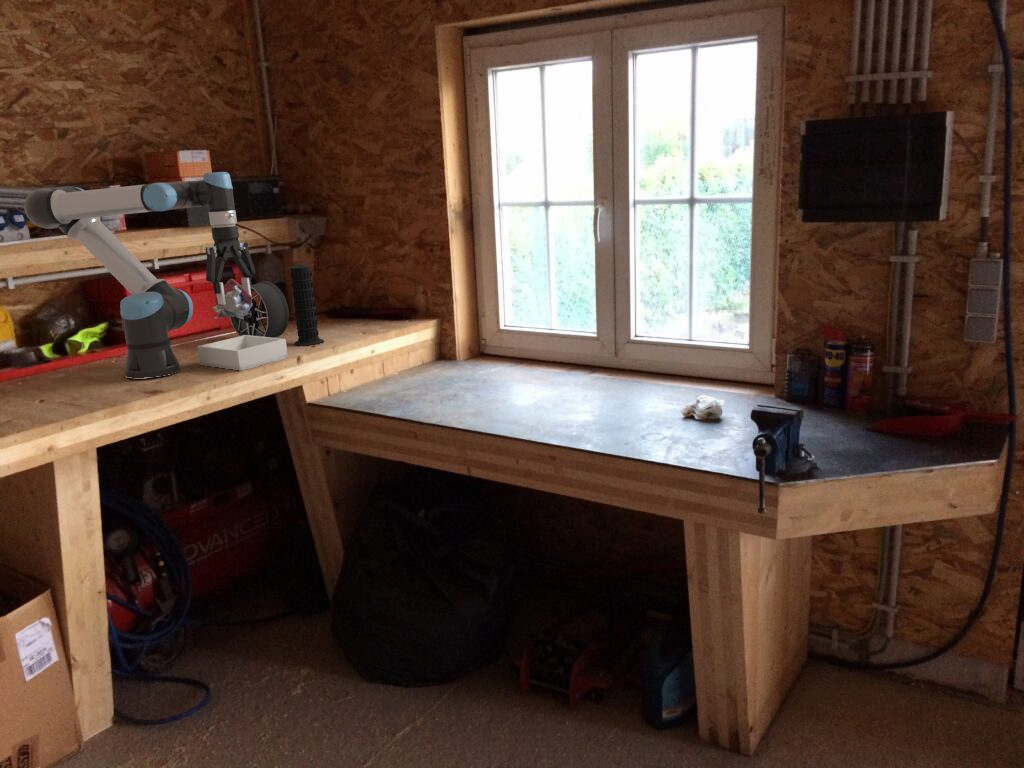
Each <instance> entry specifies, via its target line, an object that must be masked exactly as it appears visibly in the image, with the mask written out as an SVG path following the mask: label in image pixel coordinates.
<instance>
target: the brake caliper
mask: <svg viewBox="0 0 1024 768" xmlns="http://www.w3.org/2000/svg"><path fill="white" fill-rule="evenodd" d="M240 285H241V284H239V282H237V281H236V280H235V279H233V278H230V279H228V280H227V282H226V283H225V284H224V285H223V287H224V294H225V301H226V304H225V305H221V304H218V300H217V295H216V296H215V297H214V300H215V303H216V304H215V306H214V307H212V311H213V312H214V313H216V314H218V315H217V316H214V320H217V319H220V318H230V317H236V316H246V315H247V314H248V311H249V310H250V308H251V307H252V306H253V304H252V297H253V296H252V297H251V295H250V294H249V293H248V292H247V291H246V290H244V288H243V287H241V286H240ZM228 288H229V289H228ZM240 295H243V298H242V299H243V301H241V298H240Z"/></svg>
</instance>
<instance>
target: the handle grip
mask: <svg viewBox="0 0 1024 768" xmlns="http://www.w3.org/2000/svg"><path fill="white" fill-rule="evenodd" d="M289 269H290V278H291V288H292V298H293V301H294V302H293V306H294V311H295V312H294V315H295V320H296V323H295V325H296V327H297V328H296V330H297V337H298V338H297V341H294V343H293V345H294V346H295V345H296V346H295V347H311V346H310V345H313V346H317V345H316V344H318V345H321V344H320V343H322V342H324V343H325V340H324V339H322V338H320V336H319V329H318V328H319V326H318V320H317V318H318V316H317V311H316V308H317V307H316V301H315V299H316V298H315V291H314V282H313V273H312V270H311V269H312V266H311V265H310V264H309V265H308V264H303V263H299V264H296V265H293V266H290V267H289ZM322 344H323V343H322Z"/></svg>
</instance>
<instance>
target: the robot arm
mask: <svg viewBox="0 0 1024 768" xmlns="http://www.w3.org/2000/svg"><path fill="white" fill-rule="evenodd" d="M202 178H203V179H201V180H183V181H171V182H168V181H167V182H153V183H148V184H137V185H129V186H128V185H126V186H119V187H108V188H100V189H99V188H98V189H88V190H85V189H83V188H80V187H78V186H76V187H75V186H70V185H69V186H68V185H65V186H64V185H63V186H59V187H43V188H40V187H39V188H37V189H34V190H33V191H31V192H30V193H29V194H28V195H27V196H26V198H25V201H24V204H23V205H24V206H23V208H24V212H25V215H26V217H27V218H28V220H29V221H30V222H32V224H34V225H35V226H37V227H40V228H42V229H52V230H53V229H59V230H60V231H62V233H63V234H64V235H65V236H66V237H67V238H68V239H70V240H77V241H78V242H79V243H80V244H81V245H82V246H83V247H84V248H85V249H86V250H87V251H88V252H89V253H90V254H91V255H92V256H94V258H95V259H96V260H97V261H98V262H99V263H100V264H101V265H102V266H103V267H104V268H105V269H106V270H107V271H108V272H109V273H110V274H111V275H112V276H113V278H115V279H116V280H117V281H118V282H119V283H120V284H121V285H122V286H123V288H125V289H126V291H128V292H129V293H130V294H131V295H130V294H129V295H127V296H126V297H124V298H122V299H121V301H120V304H119V305H120V306H119V307H120V311H119V312H120V314H119V315H120V316H121V322H122V327H123V333H124V338H125V343H126V345H125V346H126V350H127V352H126V357H125V358H126V359H125V364H124V369H123V371H124V376H127V377H132V378H144V377H156V376H163V375H168V374H172V373H175V372H177V371H179V370H180V371H181V366H180V363H179V360H178V357H176V354H175V352H174V351H173V349H172V347H171V344H170V337H169V332H171V331H173V330H178V329H180V328H181V327H183V326H185V325H187V324H188V323H189V321H191V319H192V316H193V313H194V305H193V304H194V303H193V301H192V299H191V297H190V295H189V294H188V293H187V292H185V290H184V291H183V290H182V289H178V288H173V287H172V286H171V285H170V283H169V282H167V281H166V279H162V278H161V279H160V278H159V279H158V278H157V277H156V276H155V275H154V274H153V273H152V272H150V270H149V269H148V268H147V267H146V266H145V265H144V264H143V263H142V262H141V261H140V260H139V259H138V258H137V257H136V256H135V255H134V254H133V253H132V252H131V251H130V250H129V249H128V248H127V247H126V246H125V245H124V244H123V243H122V241H120V240H119V238H117V236H115V234H113V232H112V231H110V230H109V228H108V227H106V226H105V225H104V223H103V222H101V217H109V216H110V217H113V216H119V215H121V216H122V215H129V214H139V213H140V214H141V213H149V212H150V213H151V212H165V211H170V210H178V209H187V208H189V209H190V208H197V207H198V208H201V207H207V209H208V217H209V223H210V224H209V225H210V226H212V228H211V229H210V230H211V237H212V240H213V241H214V244H213V245H212V246H211V247H205V248H204V249H205V253H206V269H205V270H206V273H205V279H206V281H207V282H210V283H212V286H213V291H214V294H216V296H217V300H218V304H221V305H225V304H226V301H225V294H224V292H225V291H224V283H223V282H221V279H222V276H223V272H224V267H225V263H226V261H227V259H229V258H231V259H232V260H233V261H234V263H235V264H236V265H235V266H237V268H238V270H239V271H240V274H241V275H242V277H240V278H241V285H242V287H243V288H244V290H246V291H247V292H248V293H249V294H250V295H251V289H250V288H251V287H252V285H253V284H252V278H253V277H254V276H253V275H256V268H255V265H254V262H253V259H252V256H251V254H250V250H249V243H248V242H240V241H239V238H240V233H239V227H238V226H237V225H236V224H237V223H238V220H237V213H236V207H235V199H234V190H233V188H234V187H233V185H232V179H231V175H230V173H229V172H227V171H217V172H205V173H203V177H202ZM239 250H240V251H239ZM251 297H253V295H252V296H251ZM180 371H179V372H180ZM177 373H178V372H177ZM175 374H176V373H175ZM172 375H173V374H172Z"/></svg>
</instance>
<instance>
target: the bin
mask: <svg viewBox="0 0 1024 768" xmlns="http://www.w3.org/2000/svg"><path fill="white" fill-rule="evenodd" d="M197 353H198V360H199V361H198V362H199V366H200V365H205V366H204V367H207V366H211V367H210V368H214V367H219V368H218V369H221V368H225V369H224V370H228V369H233V370H232V371H235V370H239V371H238V372H242V371H241V370H243V371H246V369H247V370H250V369H254V368H257V367H260V365H261V366H265V365H269V364H272V363H274V362H278V361H282V360H287V359H289V355H288V347H287V339H286V338H280V337H279V338H278V337H275V338H271V337H261V336H251V335H243V336H239V335H238V336H235V337H231V338H226V339H223V340H218V341H214V342H210V343H209V342H208V343H204V344H201V345H197Z"/></svg>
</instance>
